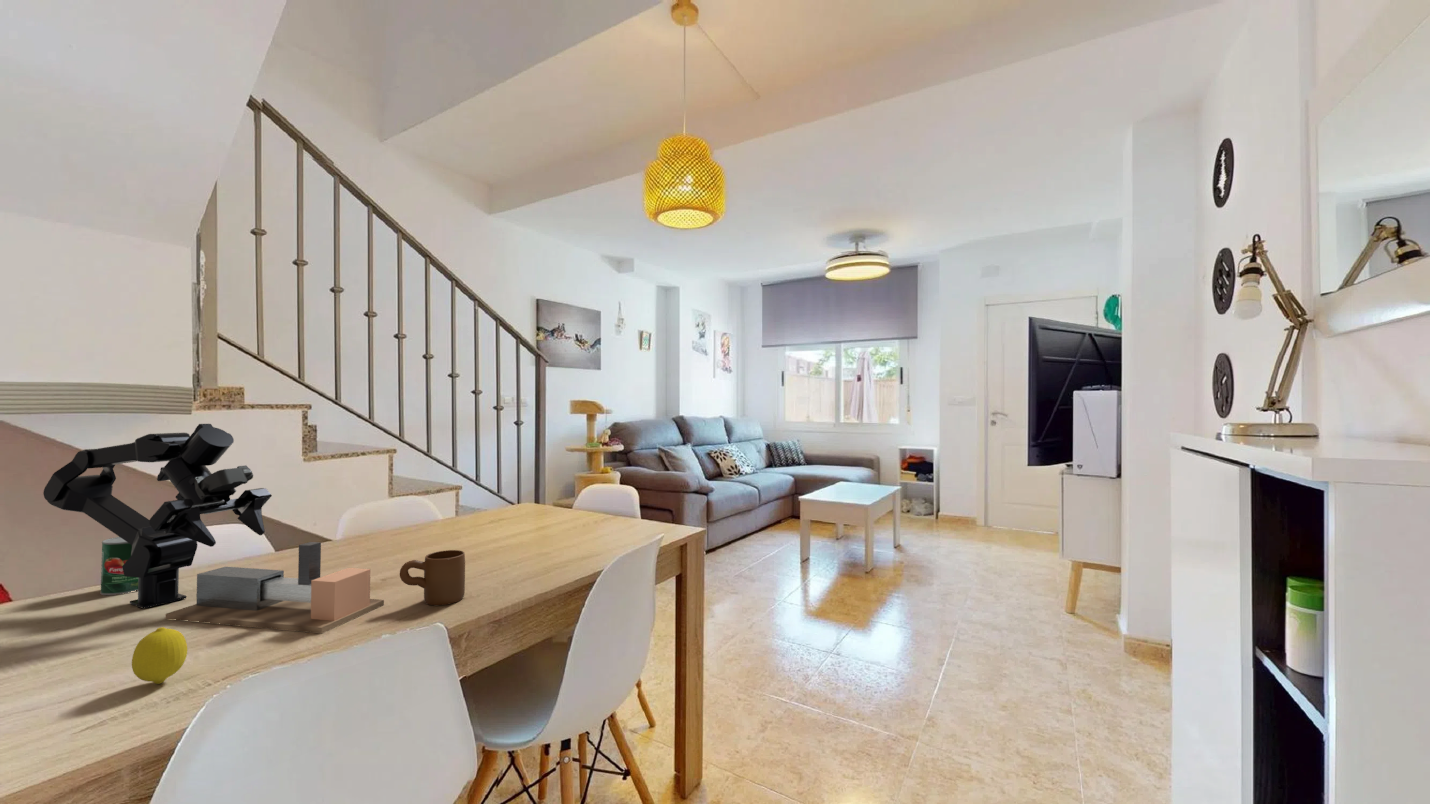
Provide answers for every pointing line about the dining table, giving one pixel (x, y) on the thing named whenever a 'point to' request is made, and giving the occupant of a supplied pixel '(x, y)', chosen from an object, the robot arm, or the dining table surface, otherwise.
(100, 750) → the dining table surface
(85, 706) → the dining table surface
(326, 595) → the socket block
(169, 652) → the lemon
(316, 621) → the base board
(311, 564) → the tube
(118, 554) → the canned tomato
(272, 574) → the sleeve
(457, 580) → the mug
